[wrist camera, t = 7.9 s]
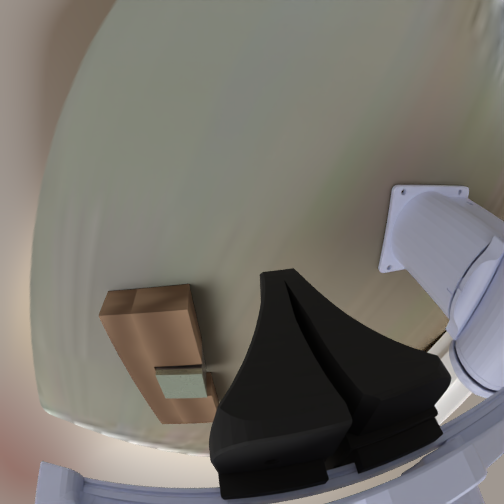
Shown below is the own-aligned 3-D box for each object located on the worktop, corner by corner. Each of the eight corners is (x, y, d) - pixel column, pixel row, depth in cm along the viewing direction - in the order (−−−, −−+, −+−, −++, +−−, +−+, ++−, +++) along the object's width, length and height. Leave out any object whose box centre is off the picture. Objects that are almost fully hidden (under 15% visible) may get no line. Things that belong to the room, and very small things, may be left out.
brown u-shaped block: (189, 283, 22) (187, 309, 19) (218, 400, 31) (220, 421, 29) (108, 291, 21) (98, 315, 19) (163, 403, 31) (162, 423, 28)
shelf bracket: (350, 384, 34) (401, 451, 23) (469, 268, 34) (529, 307, 23) (360, 396, 37) (405, 455, 26) (469, 290, 37) (523, 328, 26)
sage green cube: (201, 339, 25) (201, 373, 22) (205, 365, 28) (207, 397, 24) (159, 341, 25) (155, 375, 22) (167, 366, 27) (165, 398, 24)
